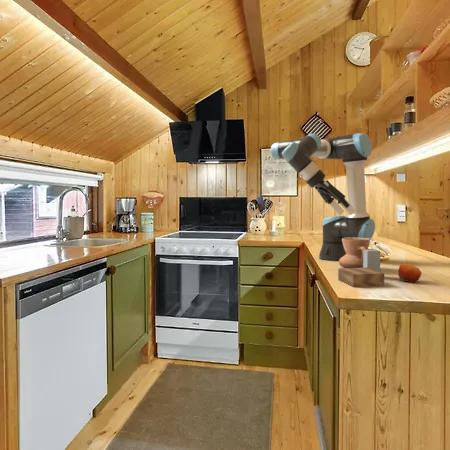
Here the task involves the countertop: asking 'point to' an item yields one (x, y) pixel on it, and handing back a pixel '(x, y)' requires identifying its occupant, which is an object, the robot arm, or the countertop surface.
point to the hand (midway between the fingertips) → (347, 213)
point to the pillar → (371, 259)
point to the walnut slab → (361, 277)
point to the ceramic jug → (354, 252)
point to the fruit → (409, 273)
